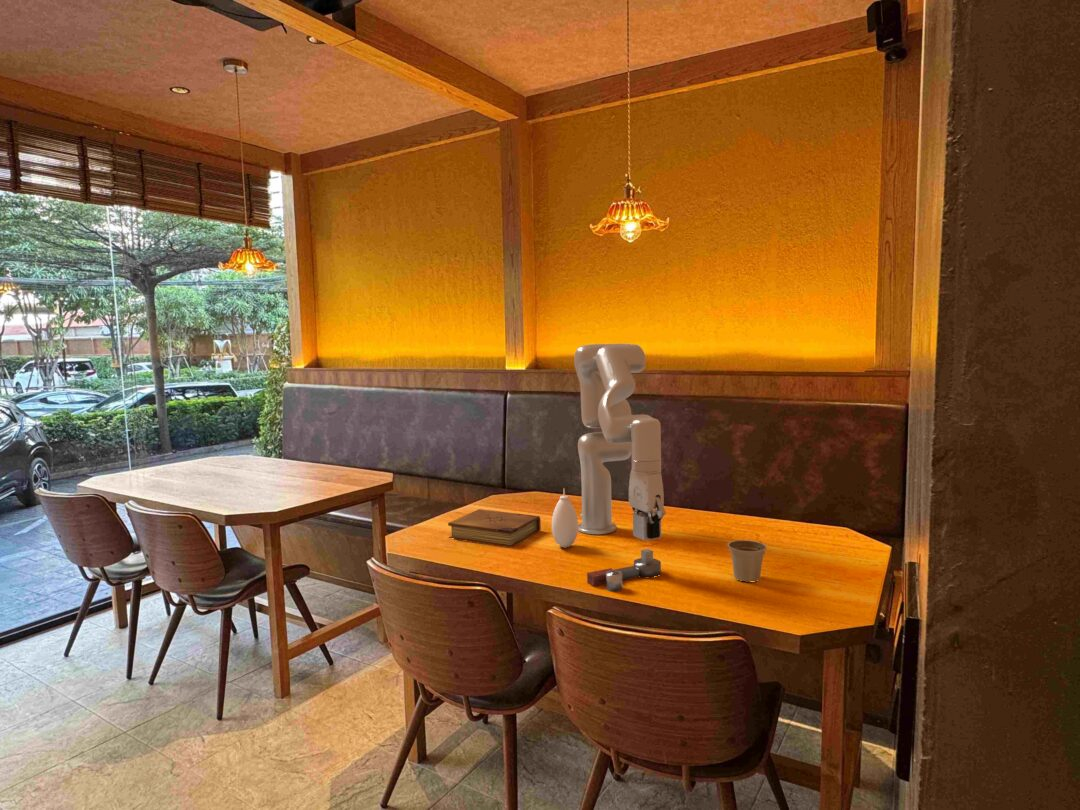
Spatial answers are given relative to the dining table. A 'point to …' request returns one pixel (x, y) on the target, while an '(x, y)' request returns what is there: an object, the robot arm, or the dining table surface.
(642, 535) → the socket
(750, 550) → the flower pot
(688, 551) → the dining table surface
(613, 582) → the socket
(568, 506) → the white air blower bulb
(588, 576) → the ratchet
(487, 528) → the diary
